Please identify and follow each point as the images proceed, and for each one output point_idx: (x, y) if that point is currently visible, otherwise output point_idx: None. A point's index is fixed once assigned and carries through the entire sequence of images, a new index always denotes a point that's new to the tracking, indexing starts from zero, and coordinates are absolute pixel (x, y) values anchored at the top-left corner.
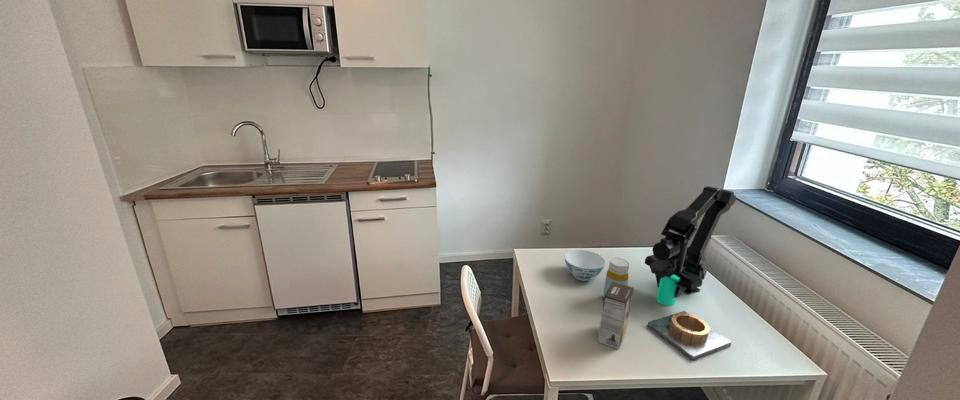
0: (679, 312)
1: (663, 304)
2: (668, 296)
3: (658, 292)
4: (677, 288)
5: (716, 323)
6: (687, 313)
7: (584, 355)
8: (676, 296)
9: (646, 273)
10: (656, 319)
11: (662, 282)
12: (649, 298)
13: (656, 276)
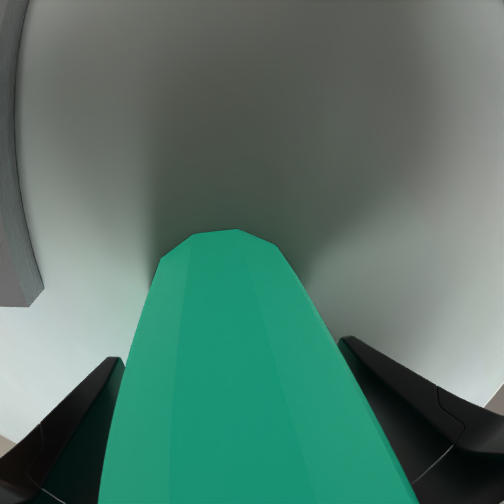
0: (8, 254)
1: (181, 244)
2: (141, 315)
3: (278, 278)
4: (33, 458)
5: (3, 371)
6: (4, 300)
7: None
8: (96, 374)
9: (454, 361)
10: (7, 6)
11: (279, 433)
12: (307, 191)
13: (450, 405)
